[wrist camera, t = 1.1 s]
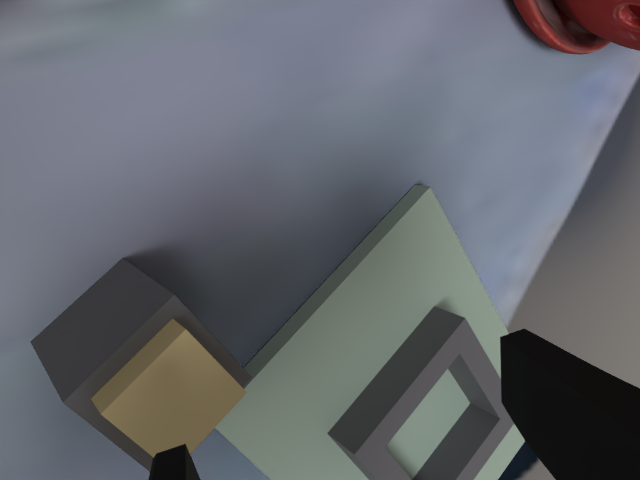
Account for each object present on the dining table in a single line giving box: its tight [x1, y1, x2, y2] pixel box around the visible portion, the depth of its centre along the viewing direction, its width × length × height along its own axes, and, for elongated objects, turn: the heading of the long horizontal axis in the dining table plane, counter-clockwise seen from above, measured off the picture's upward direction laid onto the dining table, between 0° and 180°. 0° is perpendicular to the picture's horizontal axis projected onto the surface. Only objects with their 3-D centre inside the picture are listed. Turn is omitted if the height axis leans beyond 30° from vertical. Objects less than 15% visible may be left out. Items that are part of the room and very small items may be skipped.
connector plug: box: [31, 258, 252, 471], centre depth 19 cm, size 4×4×6 cm
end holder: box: [215, 184, 525, 480], centre depth 29 cm, size 14×18×3 cm
